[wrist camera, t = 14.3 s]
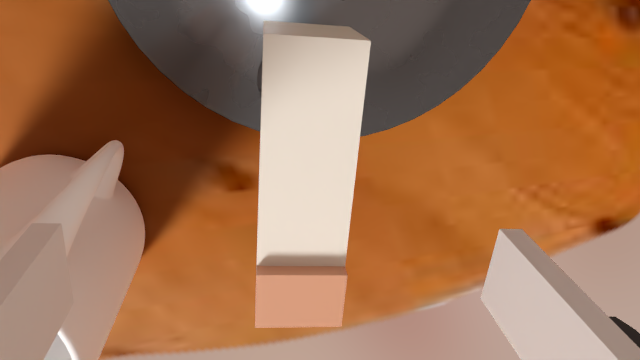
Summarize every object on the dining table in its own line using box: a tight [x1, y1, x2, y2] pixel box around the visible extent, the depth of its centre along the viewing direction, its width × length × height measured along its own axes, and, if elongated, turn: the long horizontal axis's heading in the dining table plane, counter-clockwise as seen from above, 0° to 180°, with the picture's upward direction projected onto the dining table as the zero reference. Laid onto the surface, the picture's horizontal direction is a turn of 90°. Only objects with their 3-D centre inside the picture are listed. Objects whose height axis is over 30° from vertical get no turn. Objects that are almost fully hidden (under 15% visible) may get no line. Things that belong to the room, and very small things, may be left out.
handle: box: [255, 21, 371, 328], centre depth 18 cm, size 9×3×9 cm, turn 175°
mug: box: [0, 140, 145, 360], centre depth 21 cm, size 9×12×11 cm
